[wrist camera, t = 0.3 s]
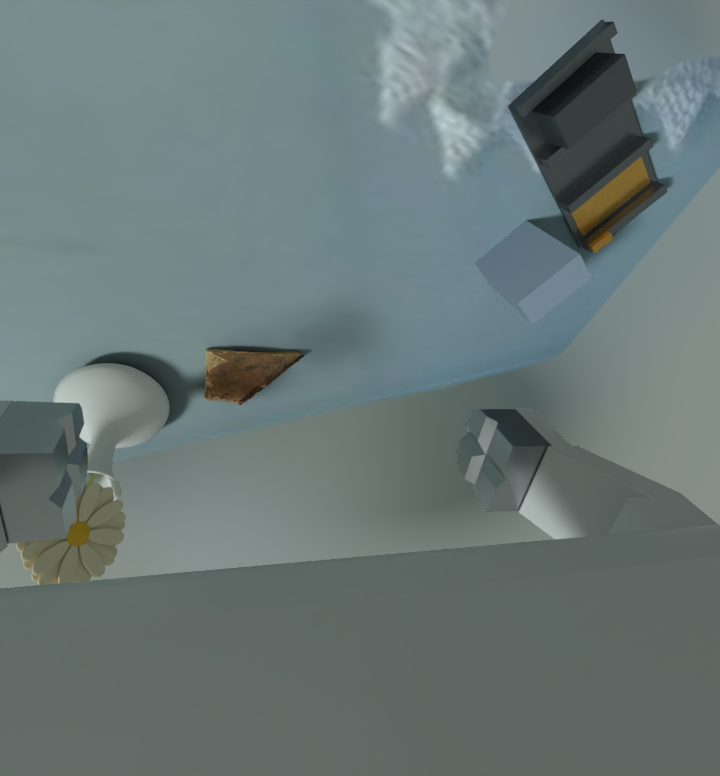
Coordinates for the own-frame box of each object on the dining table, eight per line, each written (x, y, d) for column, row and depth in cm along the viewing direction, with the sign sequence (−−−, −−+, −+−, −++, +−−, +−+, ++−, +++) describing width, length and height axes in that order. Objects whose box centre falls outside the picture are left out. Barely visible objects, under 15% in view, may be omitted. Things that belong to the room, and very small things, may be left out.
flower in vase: (178, 429, 58) (157, 632, 38) (75, 440, 55) (-2, 663, 36) (157, 337, 50) (117, 533, 31) (36, 345, 47) (-90, 564, 28)
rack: (578, 247, 55) (602, 261, 52) (507, 106, 44) (531, 112, 41) (655, 185, 53) (685, 196, 49) (601, 20, 42) (634, 19, 38)
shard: (302, 348, 56) (304, 356, 54) (294, 399, 60) (296, 408, 58) (205, 343, 52) (205, 351, 51) (204, 397, 56) (203, 407, 55)
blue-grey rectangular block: (488, 283, 56) (532, 325, 48) (474, 263, 53) (517, 303, 46) (538, 242, 54) (592, 278, 46) (526, 220, 52) (580, 254, 44)
